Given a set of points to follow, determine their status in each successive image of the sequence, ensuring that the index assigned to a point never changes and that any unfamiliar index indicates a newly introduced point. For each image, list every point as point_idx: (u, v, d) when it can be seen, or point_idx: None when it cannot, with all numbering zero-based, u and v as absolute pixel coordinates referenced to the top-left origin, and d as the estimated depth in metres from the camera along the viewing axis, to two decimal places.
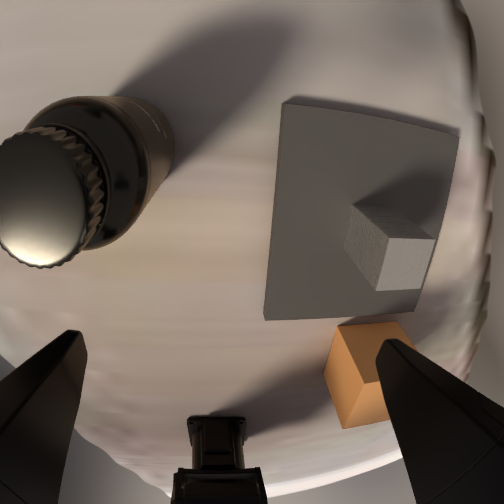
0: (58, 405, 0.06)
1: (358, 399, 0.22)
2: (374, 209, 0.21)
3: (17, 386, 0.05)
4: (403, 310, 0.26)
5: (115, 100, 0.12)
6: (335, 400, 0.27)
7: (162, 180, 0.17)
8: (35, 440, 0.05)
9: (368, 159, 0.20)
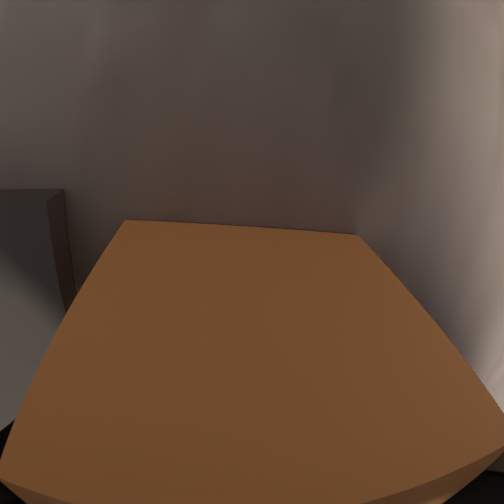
0: None
1: None
2: None
3: None
4: (45, 249, 0.07)
5: None
6: None
7: None
8: None
9: None
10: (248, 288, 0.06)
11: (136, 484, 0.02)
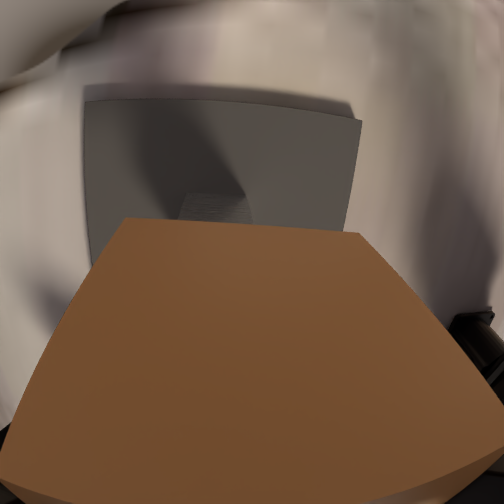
0: None
1: None
2: None
3: None
4: (356, 140, 0.17)
5: None
6: None
7: None
8: None
9: None
10: (250, 285, 0.06)
11: (136, 483, 0.02)
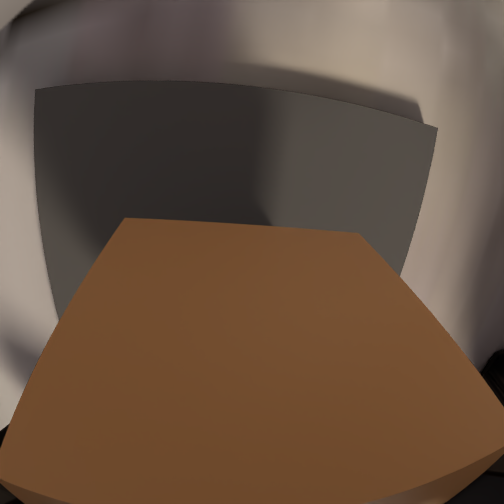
0: None
1: None
2: None
3: None
4: (428, 155, 0.12)
5: None
6: None
7: None
8: None
9: None
10: (249, 285, 0.06)
11: (133, 484, 0.02)
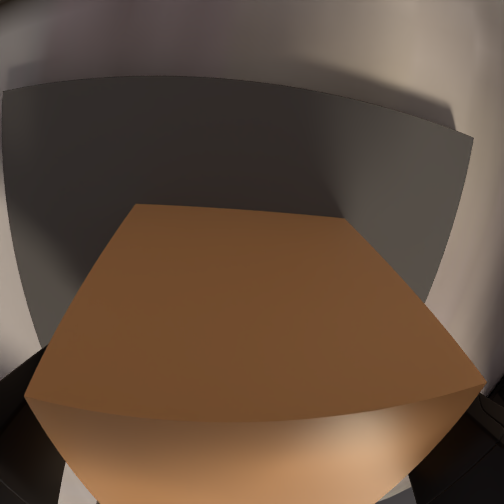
0: None
1: None
2: None
3: (17, 386, 0.05)
4: (463, 169, 0.10)
5: None
6: None
7: None
8: (35, 440, 0.05)
9: None
10: (244, 255, 0.07)
11: (148, 393, 0.03)
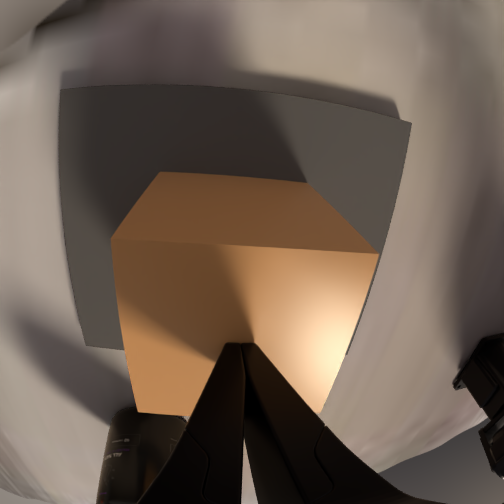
0: None
1: None
2: None
3: (222, 414, 0.06)
4: (403, 147, 0.13)
5: (99, 484, 0.15)
6: None
7: (163, 446, 0.18)
8: None
9: None
10: (232, 194, 0.11)
11: (178, 235, 0.07)
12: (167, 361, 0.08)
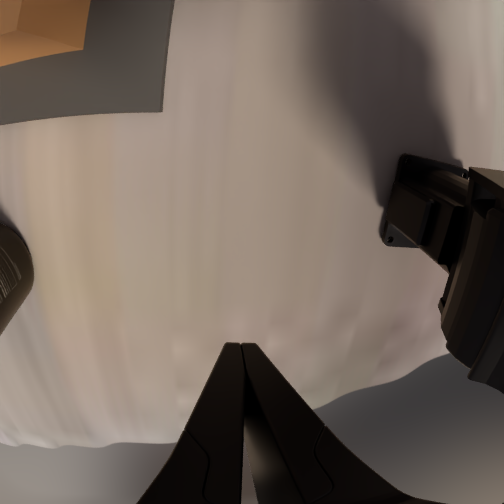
0: None
1: None
2: None
3: (222, 413, 0.06)
4: None
5: None
6: (40, 41, 0.09)
7: None
8: None
9: None
10: None
11: None
12: None
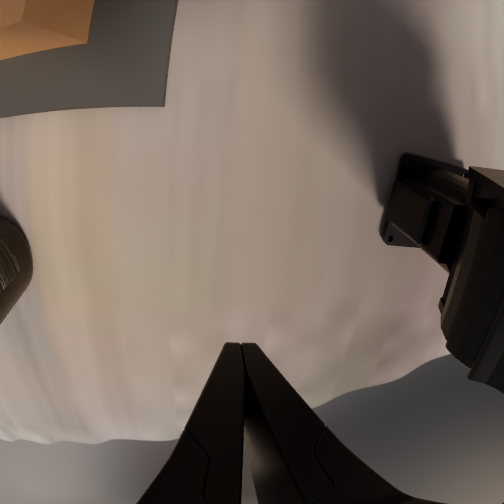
0: None
1: None
2: None
3: (222, 413, 0.06)
4: None
5: None
6: (45, 33, 0.09)
7: None
8: None
9: None
10: None
11: None
12: None
